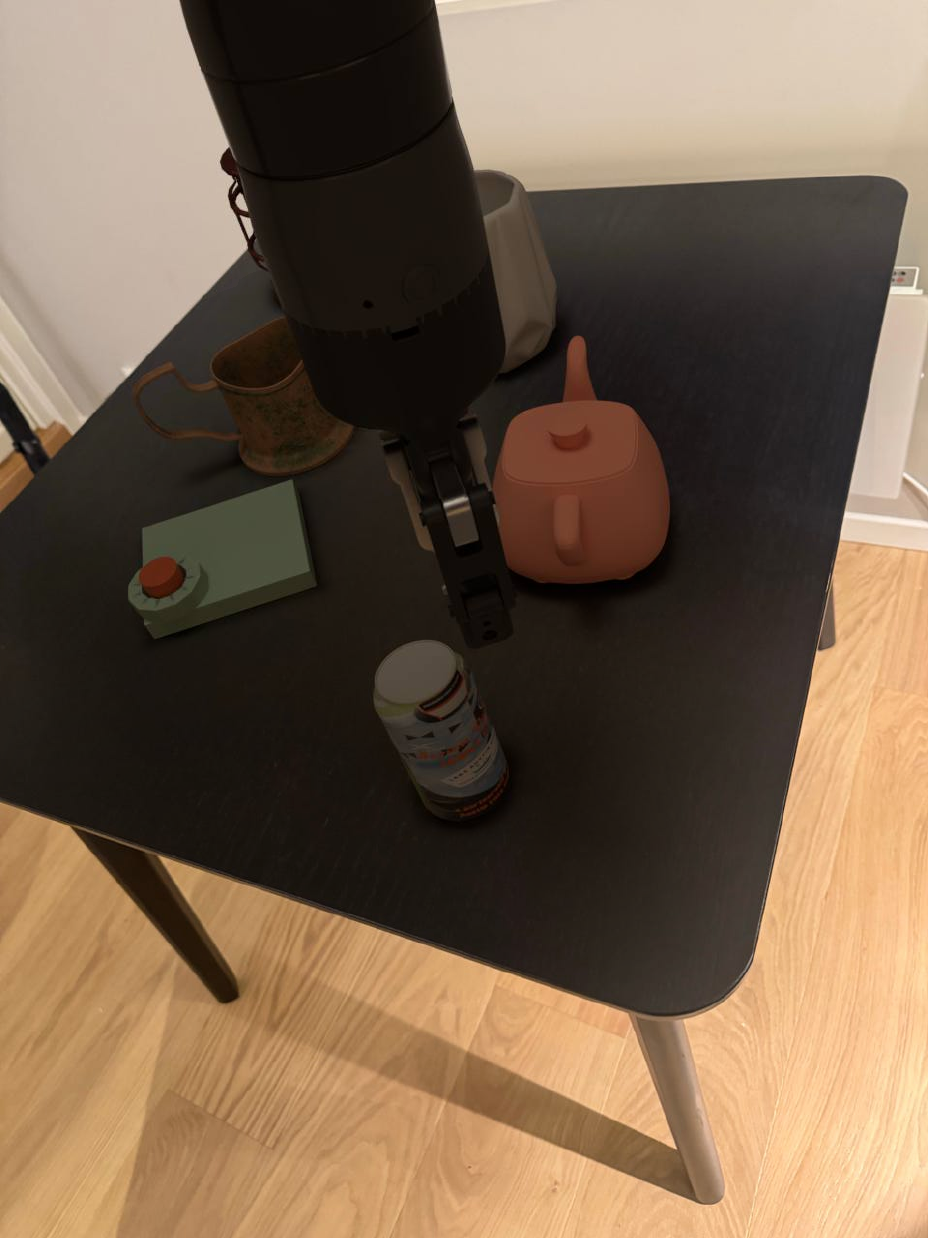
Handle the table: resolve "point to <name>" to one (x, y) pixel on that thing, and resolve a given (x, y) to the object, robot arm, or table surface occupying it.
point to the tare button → (161, 577)
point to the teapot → (580, 487)
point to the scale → (227, 559)
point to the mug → (264, 404)
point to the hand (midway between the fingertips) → (467, 573)
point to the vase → (517, 267)
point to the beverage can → (441, 729)
